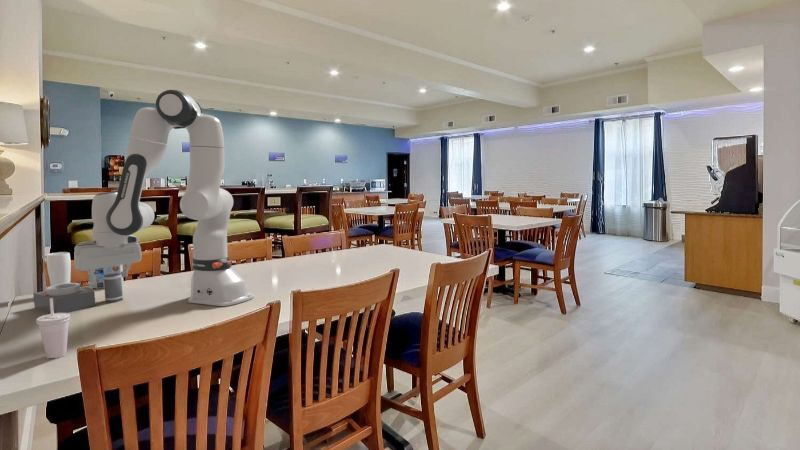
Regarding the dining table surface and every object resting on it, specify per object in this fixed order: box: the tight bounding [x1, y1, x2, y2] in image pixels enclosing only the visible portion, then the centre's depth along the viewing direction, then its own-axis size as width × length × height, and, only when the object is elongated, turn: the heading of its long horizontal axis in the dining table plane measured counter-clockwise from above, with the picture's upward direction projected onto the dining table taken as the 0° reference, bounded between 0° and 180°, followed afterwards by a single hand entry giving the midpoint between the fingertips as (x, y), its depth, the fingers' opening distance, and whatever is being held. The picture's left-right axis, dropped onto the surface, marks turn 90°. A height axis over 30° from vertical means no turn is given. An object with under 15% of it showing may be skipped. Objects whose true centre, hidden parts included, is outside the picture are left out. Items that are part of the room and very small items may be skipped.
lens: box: [104, 273, 124, 304], centre depth 149 cm, size 5×5×9 cm
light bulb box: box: [88, 265, 125, 290], centre depth 169 cm, size 11×7×11 cm, turn 117°
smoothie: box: [35, 298, 71, 359], centre depth 103 cm, size 6×6×14 cm
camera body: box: [32, 282, 96, 314], centre depth 142 cm, size 14×11×7 cm
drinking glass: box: [46, 251, 72, 286], centre depth 156 cm, size 7×7×15 cm
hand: (110, 279), depth 149 cm, fingers open, 8 cm apart
